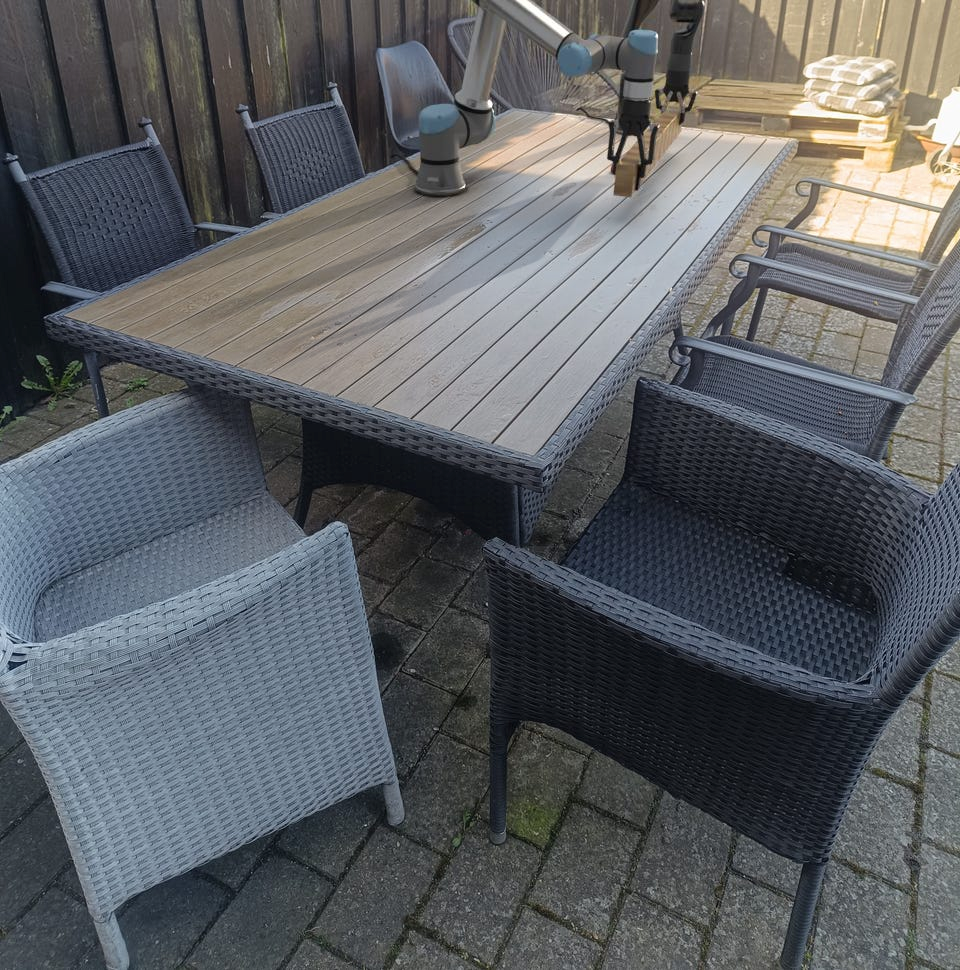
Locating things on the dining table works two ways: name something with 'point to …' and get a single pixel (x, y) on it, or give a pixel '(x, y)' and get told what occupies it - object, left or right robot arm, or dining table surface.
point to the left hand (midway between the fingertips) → (627, 188)
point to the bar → (647, 152)
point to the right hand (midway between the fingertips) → (671, 123)
